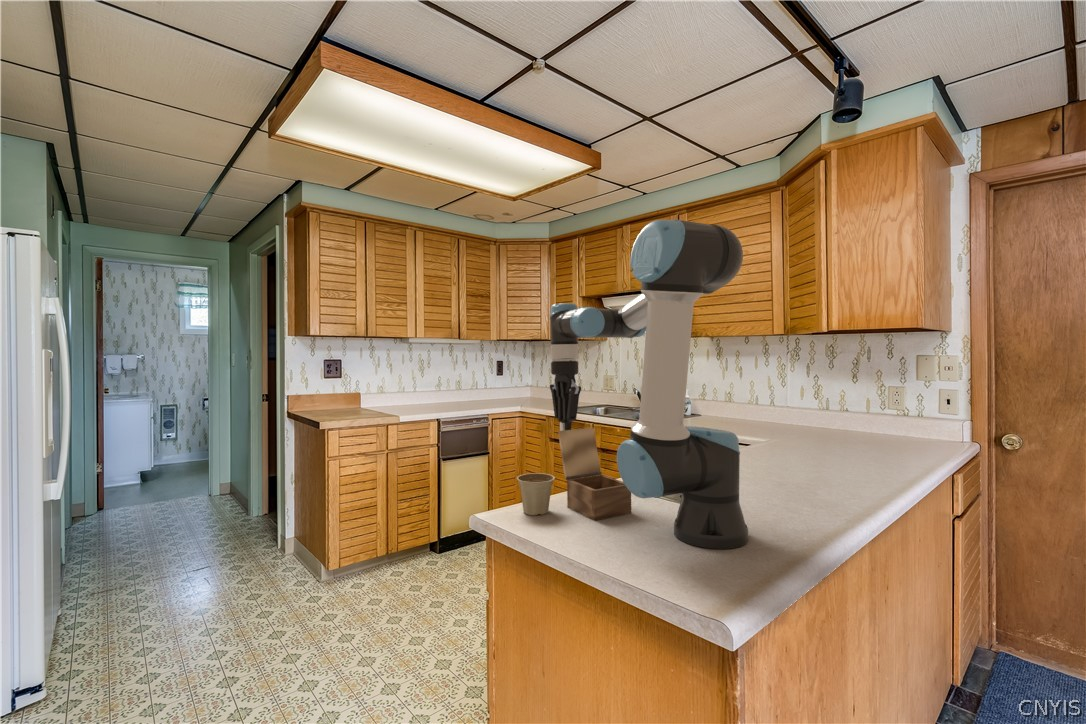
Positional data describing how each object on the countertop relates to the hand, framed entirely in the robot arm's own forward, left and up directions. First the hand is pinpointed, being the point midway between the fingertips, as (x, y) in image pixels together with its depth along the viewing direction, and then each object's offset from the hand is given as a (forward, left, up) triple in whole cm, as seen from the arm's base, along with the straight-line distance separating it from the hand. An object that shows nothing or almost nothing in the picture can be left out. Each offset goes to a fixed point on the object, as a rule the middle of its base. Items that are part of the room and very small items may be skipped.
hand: (565, 445), depth 142 cm
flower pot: (-8, +14, -14) cm, 22 cm away
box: (-15, 0, -14) cm, 21 cm away
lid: (-8, 0, -1) cm, 8 cm away
